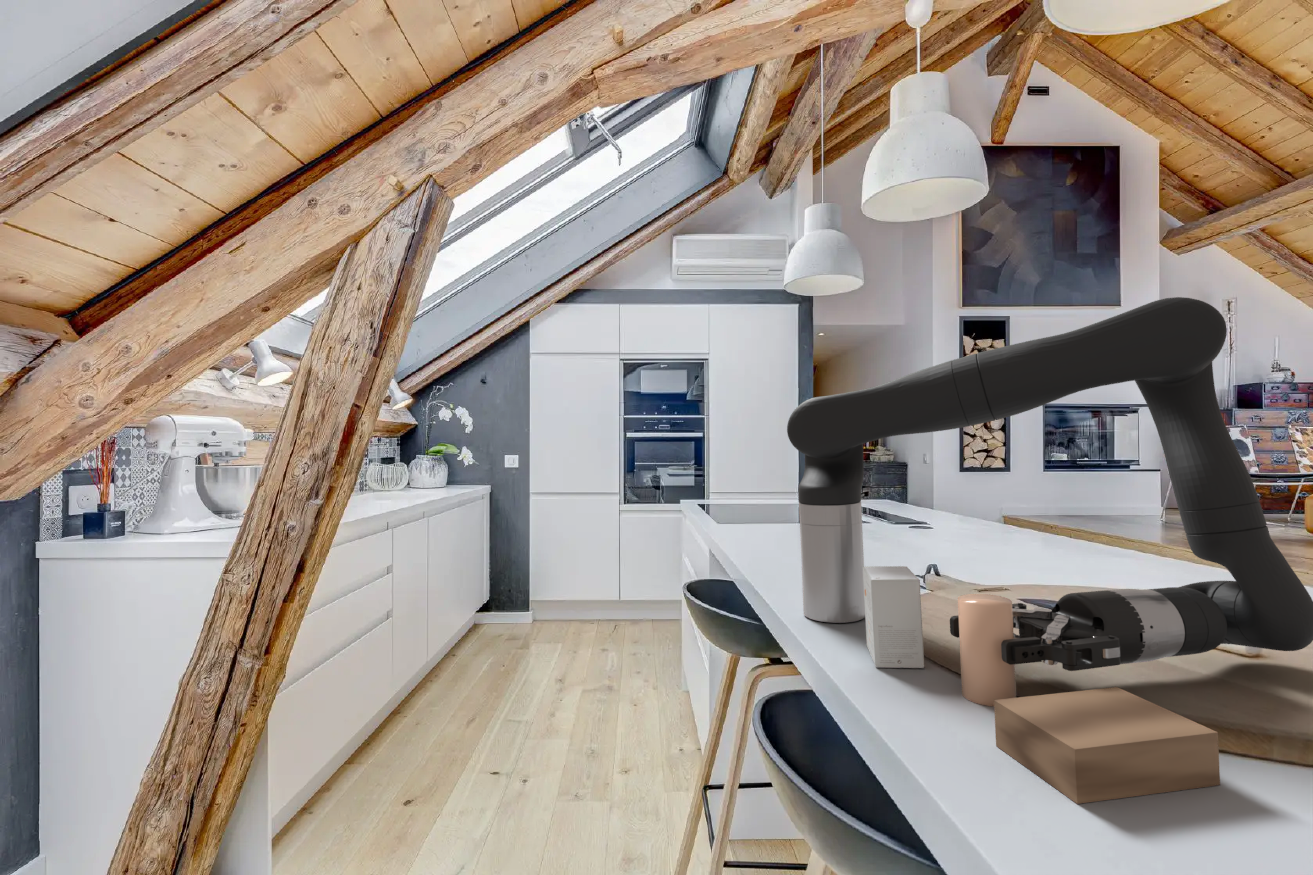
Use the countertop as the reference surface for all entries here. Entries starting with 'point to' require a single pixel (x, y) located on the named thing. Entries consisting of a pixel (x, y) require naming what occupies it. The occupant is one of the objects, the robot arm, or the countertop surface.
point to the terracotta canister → (985, 648)
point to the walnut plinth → (1106, 744)
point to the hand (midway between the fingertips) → (976, 638)
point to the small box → (893, 617)
